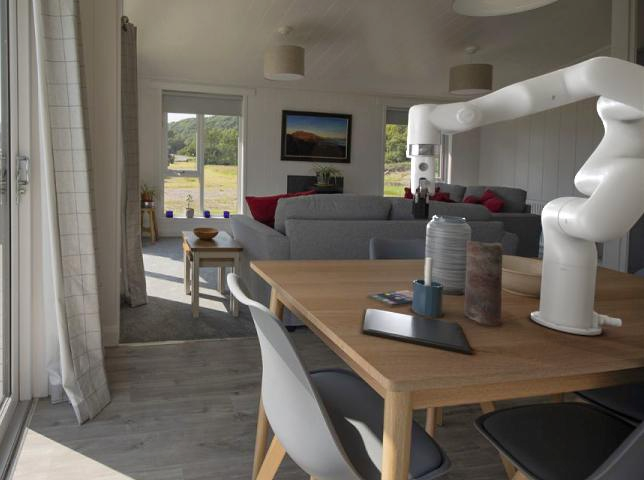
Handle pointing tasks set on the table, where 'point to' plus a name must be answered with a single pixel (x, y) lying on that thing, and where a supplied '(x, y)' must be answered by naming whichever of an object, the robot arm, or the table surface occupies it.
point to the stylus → (428, 271)
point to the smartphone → (395, 297)
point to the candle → (483, 282)
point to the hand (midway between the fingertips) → (419, 217)
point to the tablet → (415, 330)
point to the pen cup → (427, 298)
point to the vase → (448, 251)
